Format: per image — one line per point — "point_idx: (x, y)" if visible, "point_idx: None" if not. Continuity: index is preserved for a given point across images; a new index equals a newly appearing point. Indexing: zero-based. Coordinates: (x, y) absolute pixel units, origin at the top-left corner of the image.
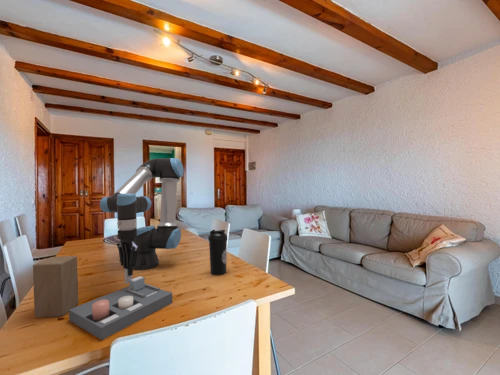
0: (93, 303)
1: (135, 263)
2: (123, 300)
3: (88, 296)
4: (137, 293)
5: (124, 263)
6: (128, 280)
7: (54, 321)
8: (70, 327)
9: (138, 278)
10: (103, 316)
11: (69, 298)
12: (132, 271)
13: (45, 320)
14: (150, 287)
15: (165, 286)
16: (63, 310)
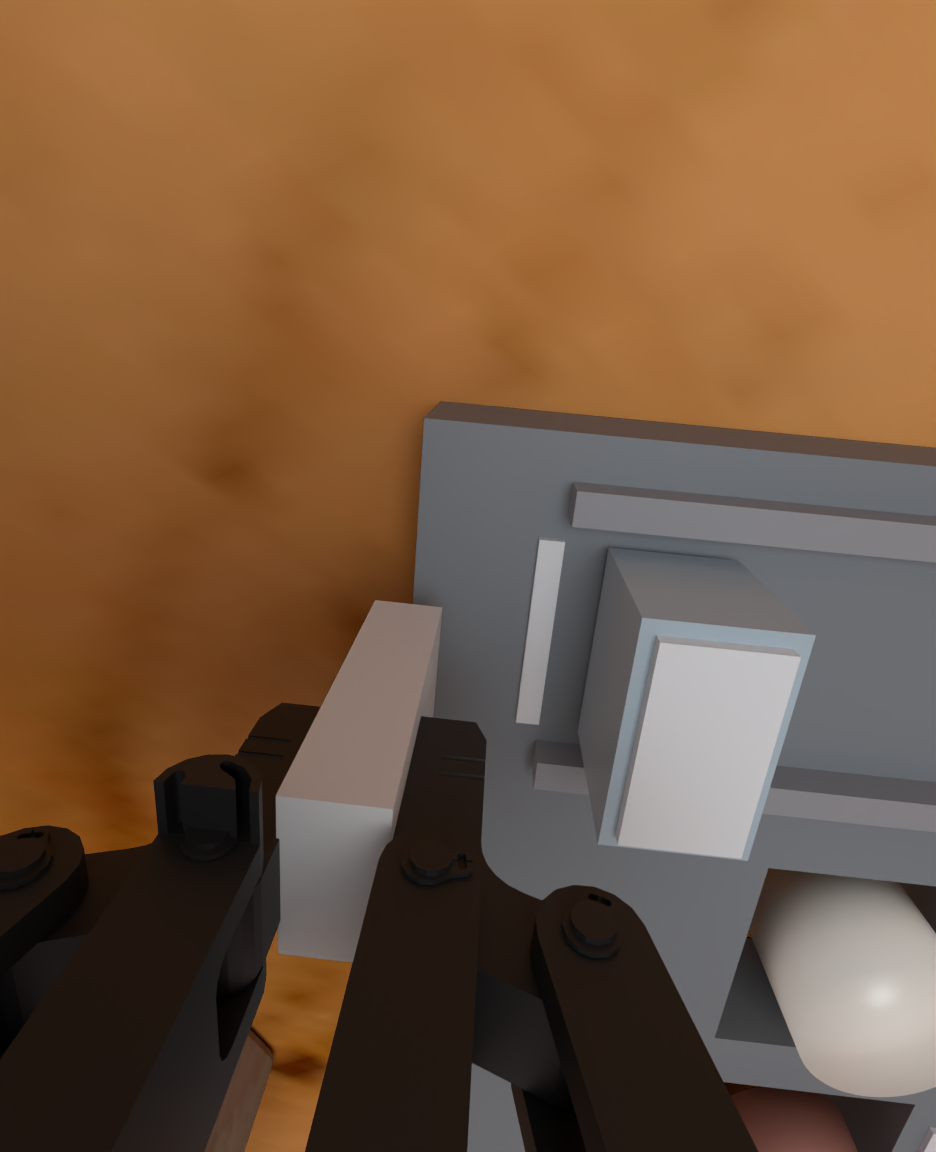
0: None
1: (684, 1042)
2: (898, 1068)
3: (14, 774)
4: (866, 822)
5: (208, 1109)
6: (430, 709)
7: (301, 1098)
8: None
9: (737, 744)
10: None
11: None
12: (481, 778)
13: None
14: (890, 552)
15: (748, 14)
16: (257, 1102)
